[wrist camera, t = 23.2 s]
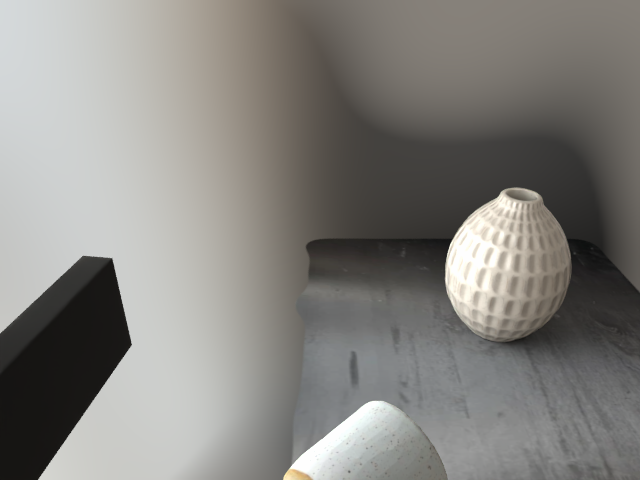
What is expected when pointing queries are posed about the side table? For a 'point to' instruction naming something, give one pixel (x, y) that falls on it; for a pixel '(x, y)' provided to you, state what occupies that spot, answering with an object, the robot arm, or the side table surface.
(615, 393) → the side table surface
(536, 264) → the vase
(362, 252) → the side table surface
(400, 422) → the ceramic mug
